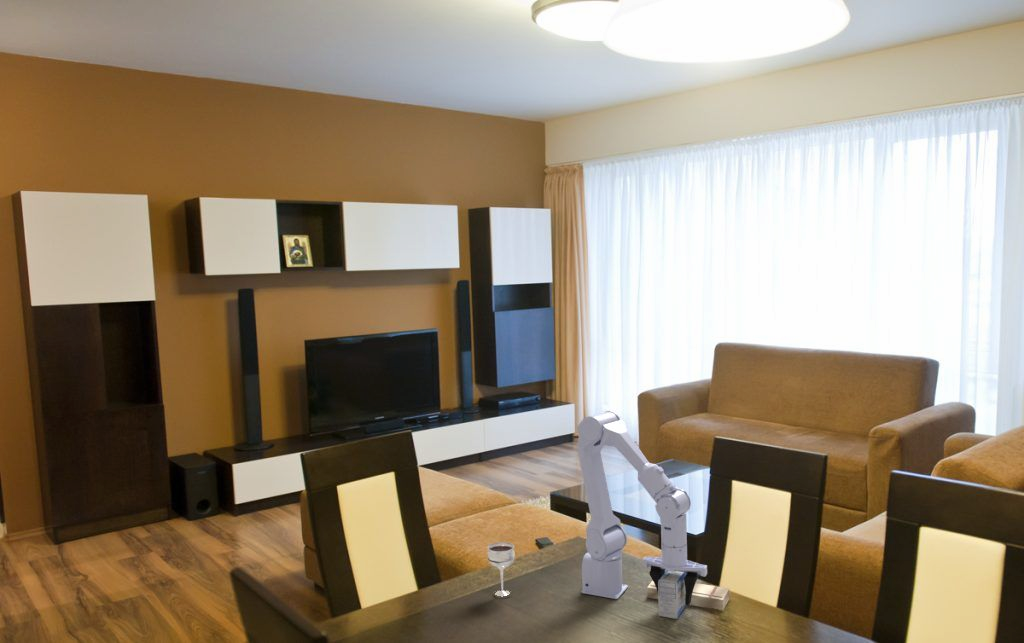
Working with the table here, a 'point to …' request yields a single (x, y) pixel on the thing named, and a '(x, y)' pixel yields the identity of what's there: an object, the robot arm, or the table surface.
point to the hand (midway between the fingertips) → (675, 601)
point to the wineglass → (501, 560)
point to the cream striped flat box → (701, 595)
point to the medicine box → (671, 594)
